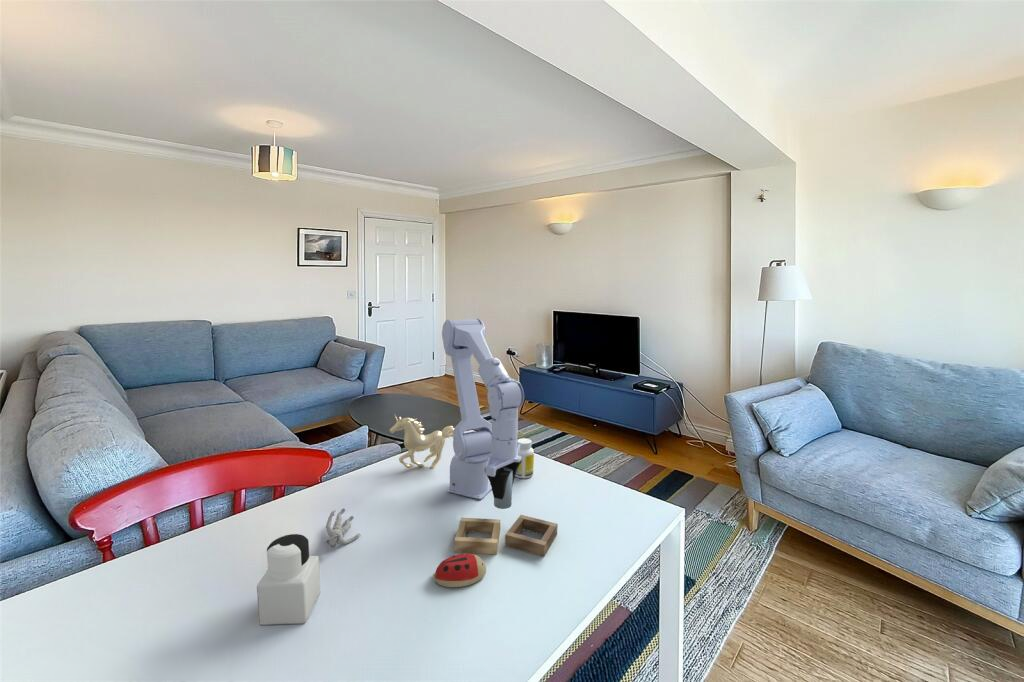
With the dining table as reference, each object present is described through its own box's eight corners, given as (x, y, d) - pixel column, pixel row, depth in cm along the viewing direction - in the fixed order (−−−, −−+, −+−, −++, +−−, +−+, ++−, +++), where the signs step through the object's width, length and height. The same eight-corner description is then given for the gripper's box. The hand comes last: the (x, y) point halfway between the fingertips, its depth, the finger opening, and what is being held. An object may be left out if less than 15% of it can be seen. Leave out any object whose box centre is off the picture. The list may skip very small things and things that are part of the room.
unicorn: (455, 458, 136) (455, 402, 133) (460, 463, 132) (461, 406, 130) (388, 471, 126) (387, 411, 123) (392, 477, 122) (391, 416, 120)
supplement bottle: (533, 471, 128) (534, 437, 127) (532, 479, 123) (533, 445, 122) (514, 469, 129) (515, 436, 127) (512, 478, 124) (513, 443, 122)
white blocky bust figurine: (278, 594, 78) (274, 529, 76) (321, 592, 79) (318, 528, 77) (258, 626, 71) (254, 555, 69) (306, 624, 72) (302, 554, 70)
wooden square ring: (504, 545, 93) (505, 534, 93) (520, 525, 101) (520, 514, 101) (544, 556, 90) (544, 545, 90) (557, 534, 98) (557, 523, 97)
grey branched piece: (364, 525, 101) (362, 539, 90) (347, 543, 100) (343, 560, 88) (338, 502, 100) (333, 512, 89) (321, 520, 99) (313, 533, 88)
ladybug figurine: (491, 582, 83) (491, 564, 82) (438, 596, 79) (438, 577, 78) (478, 560, 89) (479, 543, 88) (429, 572, 85) (429, 555, 84)
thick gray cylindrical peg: (490, 506, 102) (491, 472, 101) (498, 498, 106) (499, 465, 104) (507, 510, 100) (508, 476, 99) (514, 502, 104) (515, 469, 103)
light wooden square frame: (454, 551, 91) (454, 540, 90) (461, 528, 99) (461, 517, 99) (496, 554, 90) (497, 542, 90) (500, 530, 99) (500, 519, 98)
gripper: (507, 450, 92) (506, 512, 95) (532, 428, 106) (530, 483, 108) (477, 444, 95) (475, 505, 97) (505, 423, 108) (503, 477, 110)
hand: (502, 493), depth 103 cm, fingers closed on thick gray cylindrical peg, 4 cm apart
